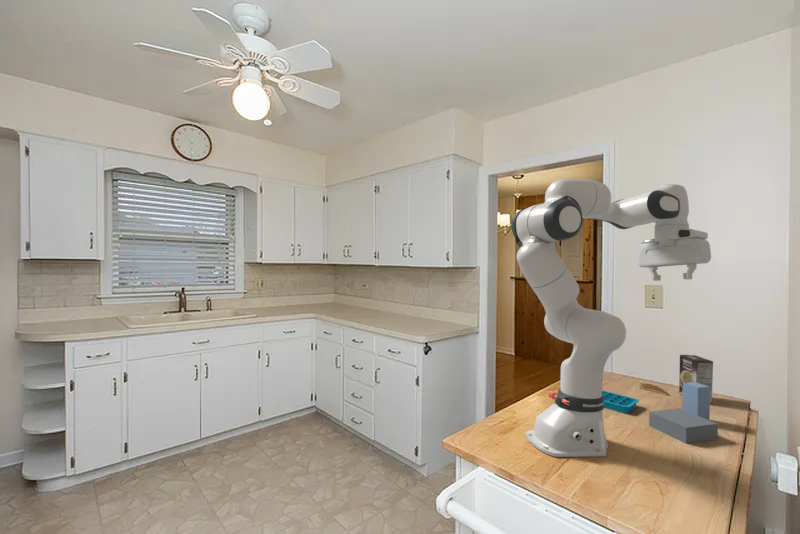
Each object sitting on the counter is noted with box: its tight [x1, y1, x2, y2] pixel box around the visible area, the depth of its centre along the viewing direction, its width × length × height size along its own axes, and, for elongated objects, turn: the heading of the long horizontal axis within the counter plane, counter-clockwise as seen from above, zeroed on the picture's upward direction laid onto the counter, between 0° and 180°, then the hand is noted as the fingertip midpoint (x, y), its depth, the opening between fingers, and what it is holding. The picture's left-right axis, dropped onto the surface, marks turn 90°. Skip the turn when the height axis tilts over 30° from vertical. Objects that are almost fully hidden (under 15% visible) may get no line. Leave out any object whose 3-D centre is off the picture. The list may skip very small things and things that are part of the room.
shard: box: [637, 382, 669, 396], centre depth 153 cm, size 11×8×2 cm
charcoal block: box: [648, 408, 719, 444], centre depth 114 cm, size 12×12×5 cm
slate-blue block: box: [682, 382, 711, 420], centre depth 123 cm, size 5×5×12 cm
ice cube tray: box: [602, 389, 640, 414], centre depth 139 cm, size 12×20×3 cm, turn 39°
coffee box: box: [678, 354, 714, 404], centre depth 143 cm, size 9×6×16 cm
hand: (671, 279), depth 115 cm, fingers open, 8 cm apart
